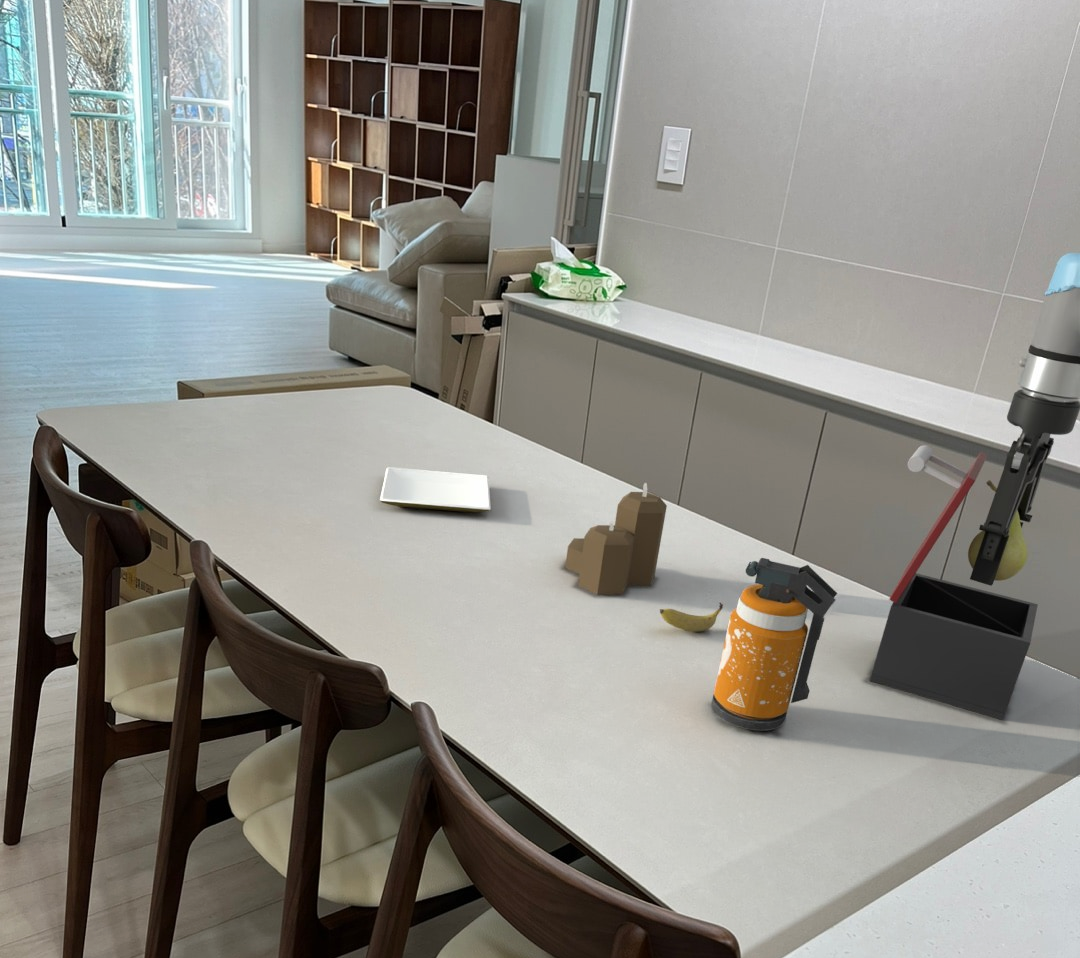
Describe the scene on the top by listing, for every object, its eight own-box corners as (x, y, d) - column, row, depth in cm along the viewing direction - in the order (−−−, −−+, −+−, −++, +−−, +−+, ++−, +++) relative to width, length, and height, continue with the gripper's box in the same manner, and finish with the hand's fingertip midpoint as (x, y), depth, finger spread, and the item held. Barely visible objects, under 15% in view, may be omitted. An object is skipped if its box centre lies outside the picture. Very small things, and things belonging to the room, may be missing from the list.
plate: (487, 485, 197) (488, 475, 196) (489, 520, 180) (490, 508, 179) (386, 477, 195) (386, 466, 194) (379, 510, 178) (379, 499, 177)
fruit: (1009, 593, 132) (1041, 501, 126) (950, 574, 136) (979, 484, 130) (1023, 580, 137) (1055, 491, 131) (966, 562, 141) (994, 475, 135)
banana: (660, 638, 146) (665, 611, 144) (652, 630, 147) (657, 604, 146) (722, 632, 150) (728, 606, 148) (713, 625, 151) (718, 599, 150)
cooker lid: (987, 455, 138) (932, 426, 139) (975, 480, 125) (914, 449, 127) (914, 569, 147) (862, 541, 149) (895, 603, 135) (840, 572, 137)
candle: (639, 559, 171) (654, 469, 164) (670, 594, 160) (687, 499, 153) (559, 559, 168) (570, 467, 160) (584, 594, 156) (598, 497, 149)
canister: (717, 691, 133) (750, 542, 124) (805, 714, 131) (845, 563, 121) (703, 723, 126) (736, 566, 116) (796, 747, 123) (838, 589, 114)
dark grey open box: (1011, 676, 147) (1038, 604, 142) (1002, 720, 135) (1030, 642, 130) (889, 642, 153) (909, 571, 148) (869, 681, 141) (891, 605, 136)
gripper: (1035, 378, 134) (979, 548, 145) (995, 397, 120) (937, 585, 130) (1097, 391, 131) (1036, 564, 142) (1065, 413, 116) (999, 604, 127)
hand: (988, 574), depth 136 cm, fingers closed on fruit, 7 cm apart
